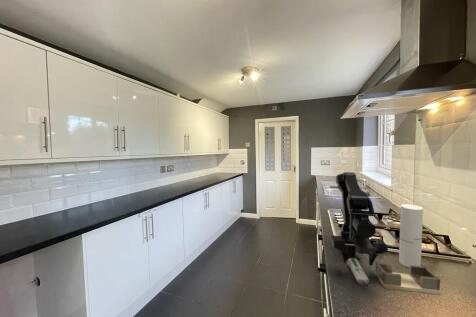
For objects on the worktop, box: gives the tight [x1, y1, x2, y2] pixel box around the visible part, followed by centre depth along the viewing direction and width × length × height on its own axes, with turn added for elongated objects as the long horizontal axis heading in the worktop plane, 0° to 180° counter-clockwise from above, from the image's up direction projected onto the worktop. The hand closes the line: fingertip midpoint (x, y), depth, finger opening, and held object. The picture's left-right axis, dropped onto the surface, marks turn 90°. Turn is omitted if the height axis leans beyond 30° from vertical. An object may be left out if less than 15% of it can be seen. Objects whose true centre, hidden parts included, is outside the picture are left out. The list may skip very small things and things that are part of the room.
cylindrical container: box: [398, 203, 424, 268], centre depth 87 cm, size 7×7×25 cm
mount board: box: [374, 270, 442, 295], centre depth 76 cm, size 8×17×1 cm, turn 77°
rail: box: [347, 258, 370, 287], centre depth 82 cm, size 12×4×4 cm, turn 167°
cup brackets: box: [375, 261, 441, 291], centre depth 76 cm, size 8×17×4 cm, turn 77°
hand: (357, 264), depth 82 cm, fingers open, 9 cm apart
